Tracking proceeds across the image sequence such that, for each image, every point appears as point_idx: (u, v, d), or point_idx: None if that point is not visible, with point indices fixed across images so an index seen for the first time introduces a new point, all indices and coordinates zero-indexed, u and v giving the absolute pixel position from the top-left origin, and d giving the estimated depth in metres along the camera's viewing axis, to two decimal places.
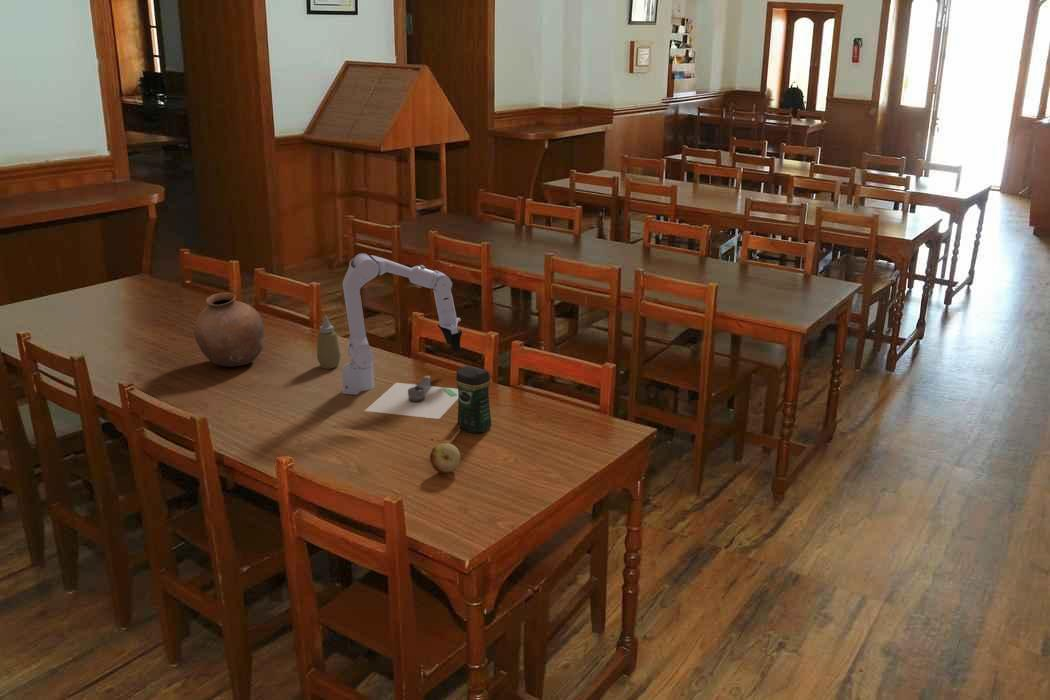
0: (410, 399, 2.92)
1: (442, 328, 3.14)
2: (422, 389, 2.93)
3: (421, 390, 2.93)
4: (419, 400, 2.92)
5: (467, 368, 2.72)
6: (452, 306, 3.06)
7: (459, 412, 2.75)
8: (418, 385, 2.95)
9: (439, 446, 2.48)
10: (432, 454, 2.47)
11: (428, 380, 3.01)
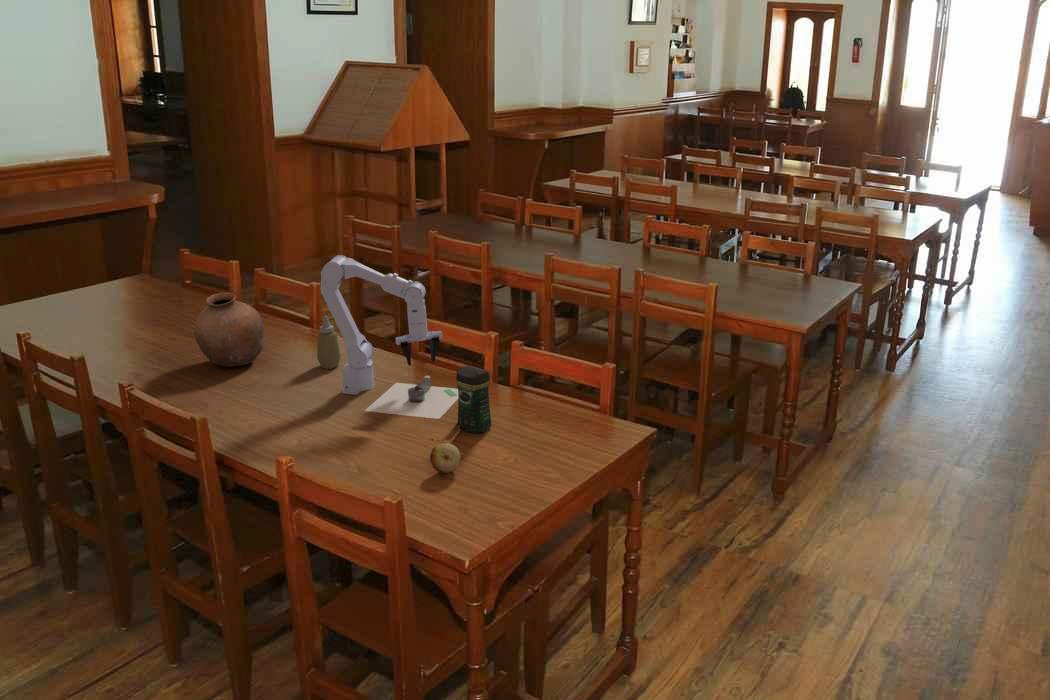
0: (410, 399, 2.92)
1: (429, 341, 3.01)
2: (422, 389, 2.93)
3: (421, 390, 2.93)
4: (419, 400, 2.92)
5: (467, 368, 2.72)
6: (421, 320, 2.93)
7: (459, 412, 2.75)
8: (418, 385, 2.95)
9: (439, 446, 2.48)
10: (432, 454, 2.47)
11: (428, 380, 3.01)
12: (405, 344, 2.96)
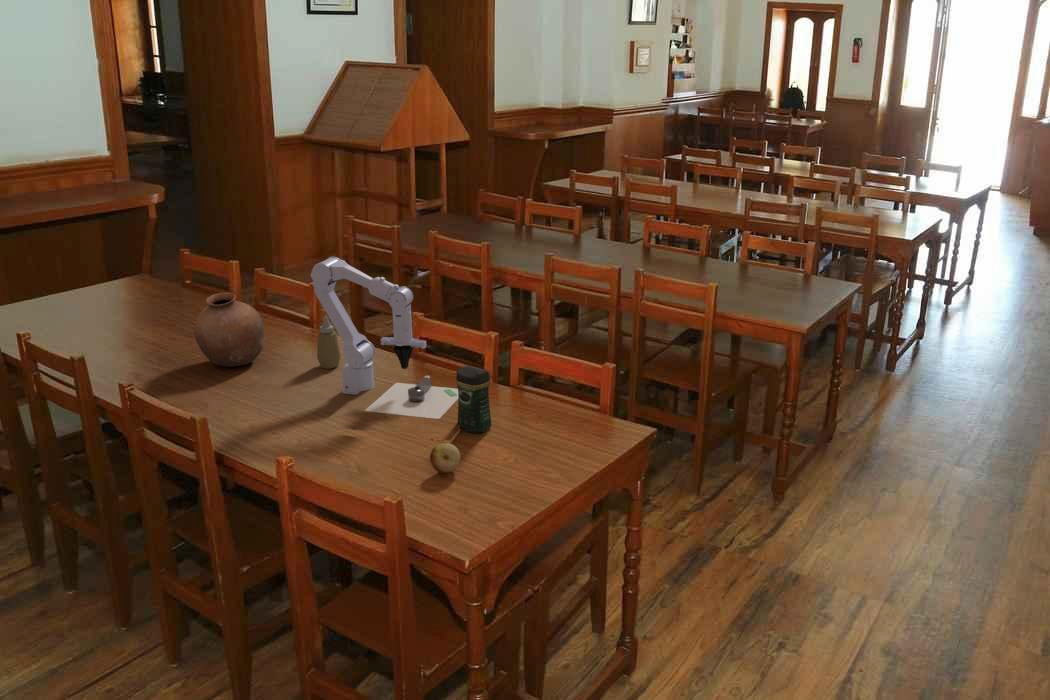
0: (410, 399, 2.92)
1: None
2: (422, 389, 2.93)
3: (421, 390, 2.93)
4: (419, 400, 2.92)
5: (467, 368, 2.72)
6: (404, 326, 2.91)
7: (459, 412, 2.75)
8: (418, 385, 2.95)
9: (439, 446, 2.48)
10: (432, 454, 2.47)
11: (428, 380, 3.01)
12: (399, 347, 2.95)
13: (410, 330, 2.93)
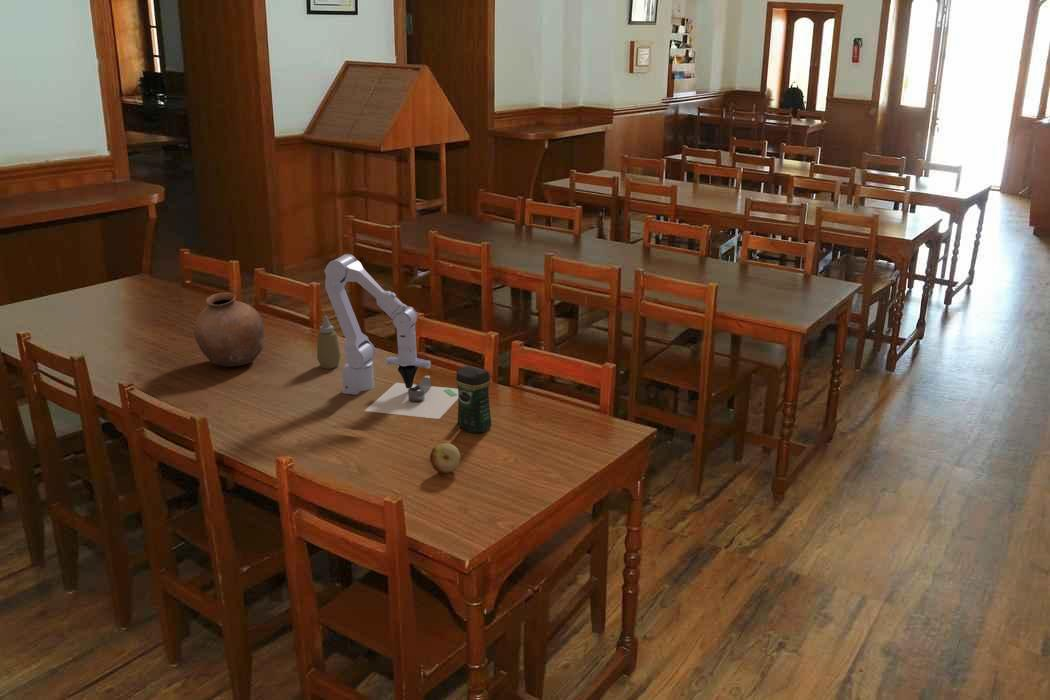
0: (410, 399, 2.92)
1: None
2: (422, 389, 2.93)
3: (421, 390, 2.93)
4: (419, 400, 2.92)
5: (467, 368, 2.72)
6: (409, 346, 2.93)
7: (459, 412, 2.75)
8: (418, 385, 2.95)
9: (439, 446, 2.48)
10: (432, 454, 2.47)
11: (428, 380, 3.01)
12: (403, 366, 2.97)
13: (414, 350, 2.95)
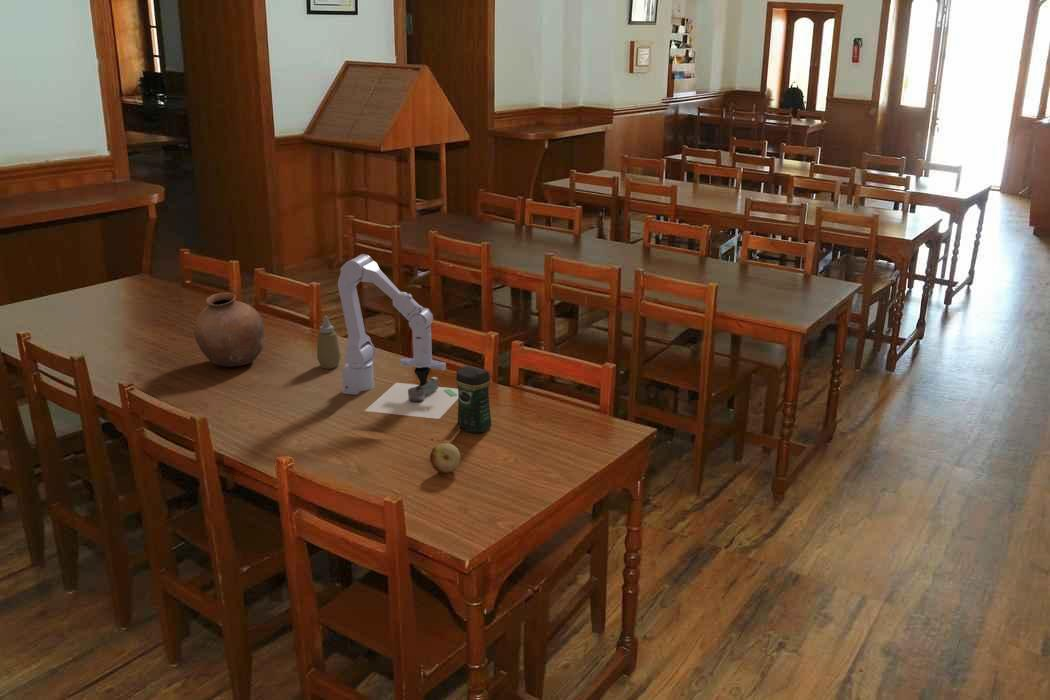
0: (409, 398, 2.93)
1: None
2: (422, 390, 2.93)
3: (420, 391, 2.92)
4: (417, 400, 2.92)
5: (467, 368, 2.72)
6: (424, 348, 2.92)
7: (459, 412, 2.75)
8: (420, 385, 2.94)
9: (439, 446, 2.48)
10: (432, 454, 2.47)
11: (434, 381, 2.99)
12: (420, 368, 2.96)
13: (430, 352, 2.94)
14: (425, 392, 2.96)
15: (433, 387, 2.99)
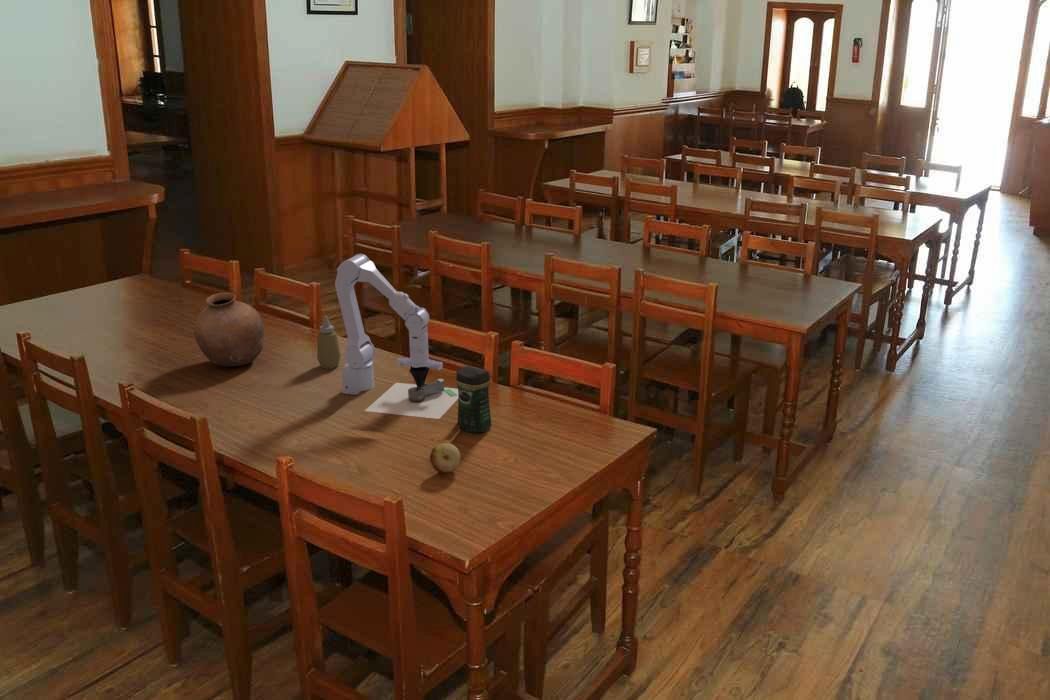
0: (408, 398, 2.93)
1: None
2: (421, 390, 2.92)
3: (419, 391, 2.92)
4: (414, 400, 2.91)
5: (467, 368, 2.72)
6: (421, 347, 2.92)
7: (459, 412, 2.75)
8: (421, 386, 2.94)
9: (439, 446, 2.48)
10: (432, 454, 2.47)
11: (440, 383, 2.98)
12: (415, 368, 2.96)
13: (426, 351, 2.94)
14: (427, 393, 2.95)
15: (438, 389, 2.98)
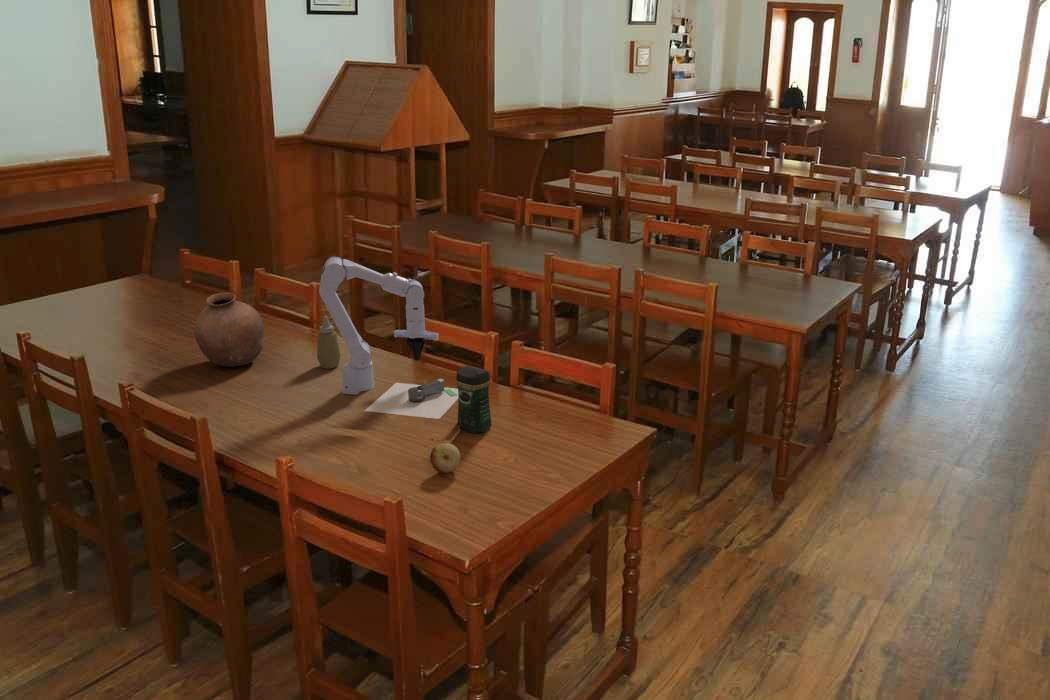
0: (408, 398, 2.93)
1: None
2: (421, 390, 2.92)
3: (419, 391, 2.92)
4: (414, 400, 2.91)
5: (467, 368, 2.72)
6: (421, 318, 2.99)
7: (459, 412, 2.75)
8: (421, 386, 2.94)
9: (439, 446, 2.48)
10: (432, 454, 2.47)
11: (440, 383, 2.98)
12: (412, 339, 3.02)
13: (423, 323, 3.00)
14: (427, 393, 2.95)
15: (438, 389, 2.98)
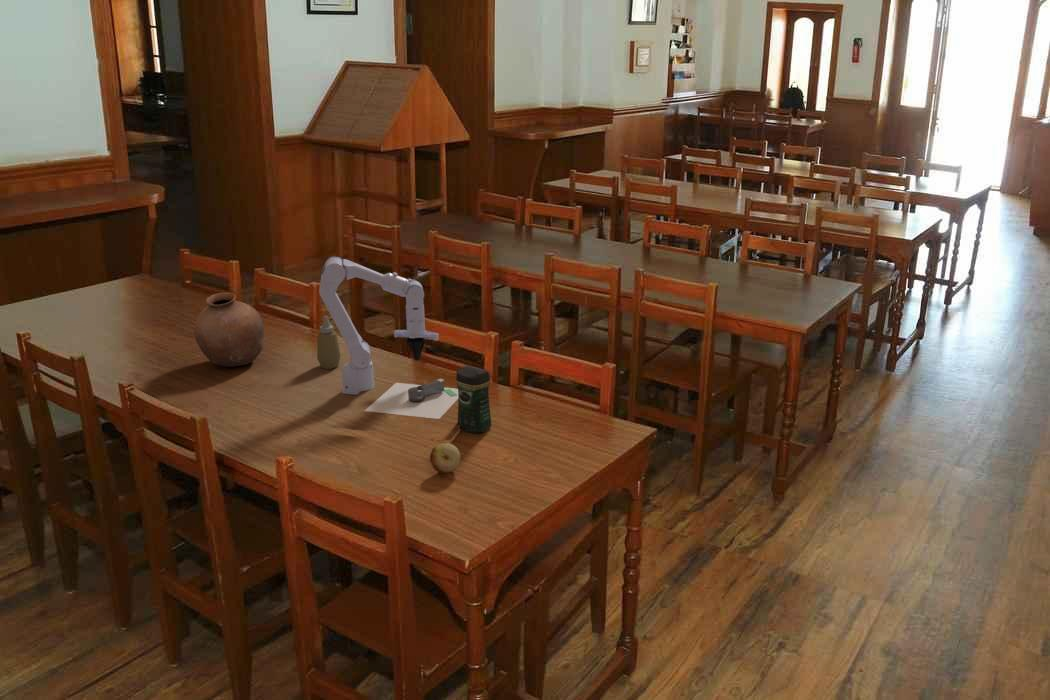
0: (408, 398, 2.93)
1: None
2: (421, 390, 2.92)
3: (419, 391, 2.92)
4: (414, 400, 2.91)
5: (467, 368, 2.72)
6: (421, 318, 2.99)
7: (459, 412, 2.75)
8: (421, 386, 2.94)
9: (439, 446, 2.48)
10: (432, 454, 2.47)
11: (440, 383, 2.98)
12: (412, 339, 3.02)
13: (423, 323, 3.00)
14: (427, 393, 2.95)
15: (438, 389, 2.98)
